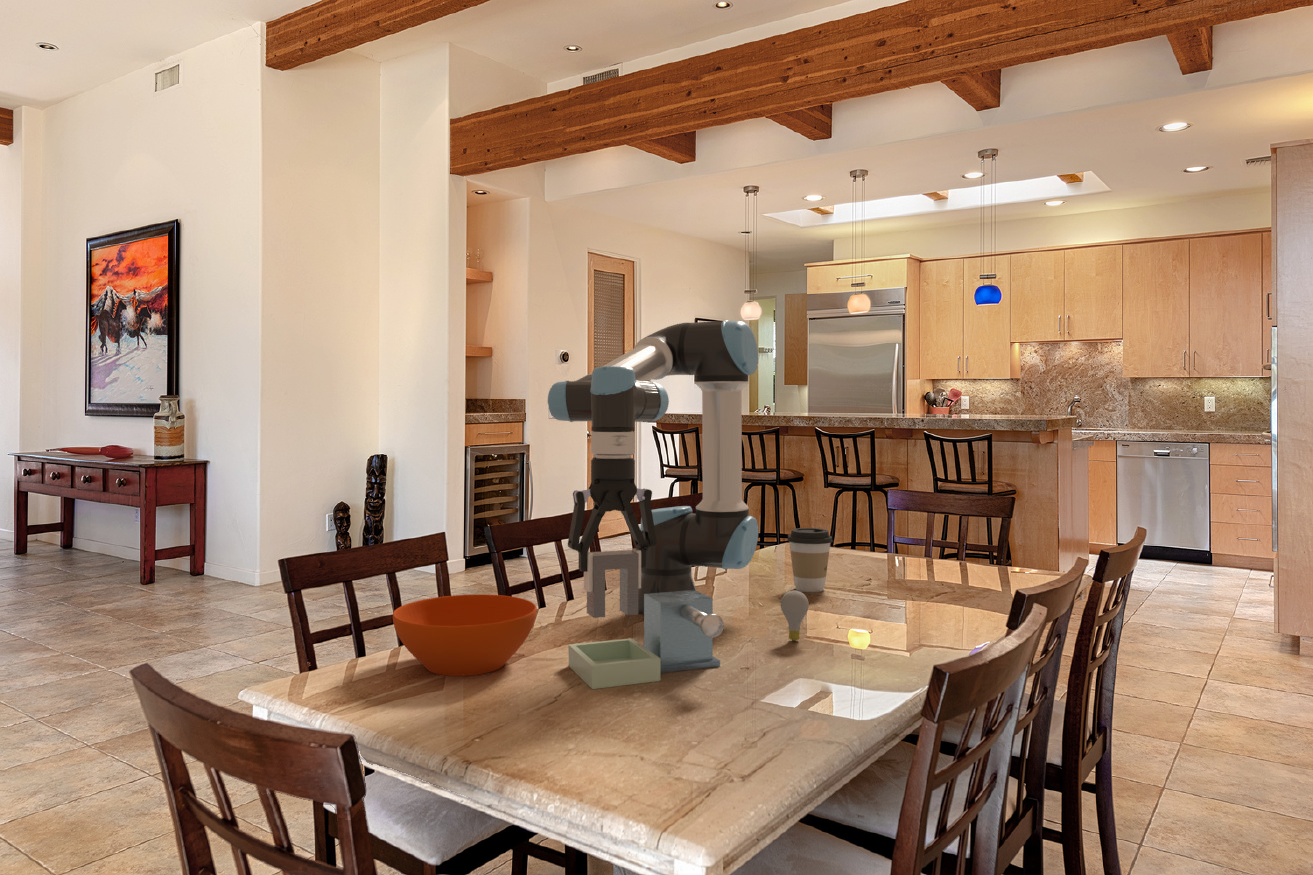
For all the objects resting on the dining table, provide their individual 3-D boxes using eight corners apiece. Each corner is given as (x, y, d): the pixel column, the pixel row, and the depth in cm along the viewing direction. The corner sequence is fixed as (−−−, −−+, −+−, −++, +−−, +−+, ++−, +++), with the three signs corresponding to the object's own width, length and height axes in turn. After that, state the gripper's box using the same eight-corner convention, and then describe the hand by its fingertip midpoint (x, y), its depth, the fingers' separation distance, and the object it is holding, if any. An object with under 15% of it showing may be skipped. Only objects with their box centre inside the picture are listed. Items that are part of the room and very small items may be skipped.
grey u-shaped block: (586, 612, 154) (586, 552, 154) (630, 609, 157) (630, 549, 157) (593, 617, 150) (593, 555, 150) (638, 614, 153) (638, 553, 153)
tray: (568, 665, 158) (568, 644, 158) (631, 658, 163) (631, 638, 163) (592, 689, 145) (592, 665, 145) (660, 680, 150) (660, 658, 150)
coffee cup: (836, 594, 219) (836, 533, 219) (790, 594, 219) (790, 533, 219) (828, 584, 231) (828, 527, 230) (784, 584, 231) (784, 527, 230)
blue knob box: (637, 658, 163) (637, 593, 163) (696, 651, 168) (697, 588, 167) (679, 690, 145) (680, 617, 144) (745, 682, 149) (746, 611, 149)
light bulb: (807, 645, 172) (808, 594, 172) (779, 643, 173) (779, 592, 173) (808, 638, 177) (809, 588, 177) (781, 636, 179) (781, 587, 178)
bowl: (410, 694, 143) (409, 633, 142) (380, 655, 165) (380, 602, 165) (557, 673, 154) (557, 616, 154) (511, 639, 176) (511, 589, 176)
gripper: (559, 458, 145) (559, 597, 146) (677, 456, 153) (676, 588, 154) (548, 456, 152) (547, 588, 153) (661, 454, 160) (660, 580, 161)
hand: (612, 588), depth 153 cm, fingers closed on grey u-shaped block, 8 cm apart
